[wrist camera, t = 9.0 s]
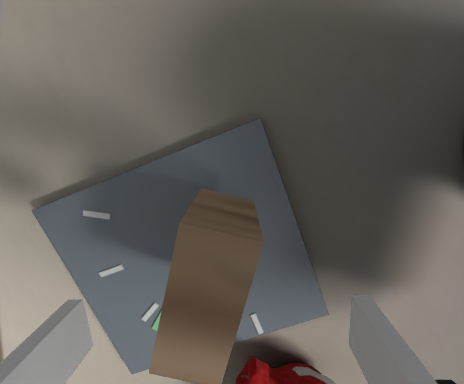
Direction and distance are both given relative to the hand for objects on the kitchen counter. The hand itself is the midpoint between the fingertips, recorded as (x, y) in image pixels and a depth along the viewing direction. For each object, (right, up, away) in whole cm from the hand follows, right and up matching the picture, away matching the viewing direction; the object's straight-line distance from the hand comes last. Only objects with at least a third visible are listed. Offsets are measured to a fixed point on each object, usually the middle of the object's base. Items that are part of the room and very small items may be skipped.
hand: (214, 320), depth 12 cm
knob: (-2, -2, +11) cm, 11 cm away
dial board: (-3, 0, +12) cm, 13 cm away
